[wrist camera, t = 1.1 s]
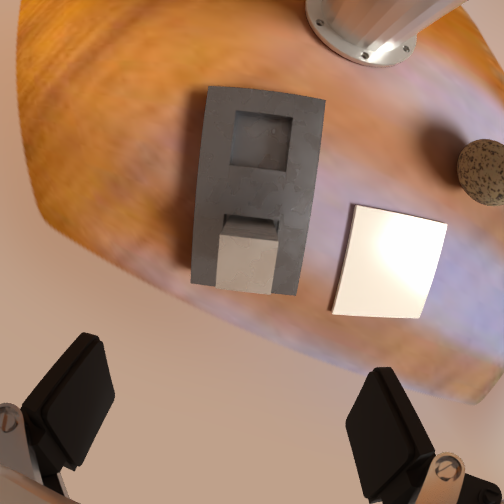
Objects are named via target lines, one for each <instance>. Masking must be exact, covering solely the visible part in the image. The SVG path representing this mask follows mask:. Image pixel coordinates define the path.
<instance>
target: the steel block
mask: <svg viewBox="0 0 504 504" xmlns="http://www.w3.org/2000/svg"><path fill="white" fill-rule="evenodd" d="M278 244H279V241H278V237H277V233H276V229H275V225H274V221H273V220H272V219H264V218H256V217H248V216H239V215H230V216H229V218H228V220H227V222H226V224H225V226H224V228H223V230H222V231H221V233H220V238H219V250H218V262H217V275H216V288H218V289H226V290H234V291H242V292H251V293H259V294H268V295H271V289H272V282H273V276H274V270H275V263H276V257H277V250H278Z"/></svg>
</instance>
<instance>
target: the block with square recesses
mask: <svg viewBox="0 0 504 504" xmlns="http://www.w3.org/2000/svg"><path fill="white" fill-rule="evenodd" d="M325 101H326V100H322V99H317V98H312V97H307V96H301V95H295V94H288V93H282V92H274V91H266V90H257V89H247V88H235V87H220V86H208V93H207V100H206V107H205V115H204V122H203V130H202V139H201V147H200V157H199V166H198V176H197V187H196V199H195V212H194V226H193V242H192V261H191V283H193V284H200V285H208V286H216V275H217V262H218V250H219V238H220V233H221V231H222V230H223V228H224V226H225V224H226V222H227V220H228V218H229V216H230V215H239V216H248V217H256V218H264V219H272V220H273V221H274V225H275V229H276V233H277V237H278V241H279V244H278V250H277V257H276V263H275V270H274V276H273V282H272V289H271V293H275V294H285V295H295V296H296V293H297V288H298V283H299V278H300V272H301V267H302V262H303V256H304V251H305V245H306V239H307V233H308V227H309V221H310V215H311V209H312V202H313V196H314V189H315V182H316V175H317V168H318V161H319V153H320V145H321V137H322V129H323V120H324V111H325Z"/></svg>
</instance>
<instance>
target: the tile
mask: <svg viewBox="0 0 504 504" xmlns="http://www.w3.org/2000/svg"><path fill="white" fill-rule="evenodd" d="M446 228H447V224H445V223H441V222H437V221H433V220H428V219H424V218H420V217H415V216H411V215H406V214H401V213H396V212H392V211H387V210H382V209H377V208H371V207H366V206H361V205H355V208H354V213H353V219H352V224H351V229H350V234H349V239H348V244H347V249H346V253H345V258H344V262H343V267H342V271H341V275H340V279H339V284H338V288H337V292H336V296H335V299H334V303H333V307H332V311H331V312H332V314H337V315H353V316H371V317H394V318H419V317H420V314H421V312H422V309H423V306H424V304H425V301H426V298H427V295H428V292H429V289H430V286H431V283H432V280H433V277H434V273H435V270H436V267H437V263H438V260H439V256H440V252H441V249H442V245H443V241H444V237H445V232H446Z"/></svg>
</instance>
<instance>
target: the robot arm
mask: <svg viewBox="0 0 504 504" xmlns="http://www.w3.org/2000/svg"><path fill="white" fill-rule="evenodd" d="M466 1H468V0H306V2H305V12H306V17H307V19H308V22H309V24H310V26H311V28H312V29H313V31H314V32H315V34H316V35H317V36H318V37H319V38H320V39H321V40H322V42H323V43H325V44H326V45H327V46H328V47H329V48H331V49H332V50H333V51H335V52H336V53H338V54H339V55H341V56H342V57H344V58H347V59H349V60H351V61H353V62H356V63H359V64H362V65H365V66H371V67H390V66H395V65H397V64H399V63H401V62H403V61H404V60H406V59H407V58H408V57H409V56H410V55H411V54H412V53H413V51H414V49H415V47H416V41H417V33H418V32H420V31H421V30H423V29H424V28H426V27H427V26H429V25H430V24H432V23H433V22H435V21H436V20H438V19H439V18H441V17H442V16H444V15H445V14H447V13H449V12H450V11H452V10H453V9H455V8H456V7H458V6H460V5H461V4H463V3H465V2H466ZM319 25H320V26H319ZM362 57H364V58H362ZM114 398H115V392H114V388H113V385H112V380H111V377H110V373H109V368H108V364H107V359H106V355H105V350H104V345H103V342H102V341H100V340H99V337H98V336H96V335H92V334H89V333H85V332H83V333H81V334H80V335H79V336H78V338H77V339H76V340H75V341H74V342H73V343H72V344H71V345H70V347H69V348H68V349H67V350H66V351H65V352H64V354H63V355H62V356H61V357H60V358H59V359H58V361H57V362H56V363H55V364H54V365H53V366H52V368H51V369H50V370H49V371H48V372H47V374H46V375H45V376H44V377H43V379H42V380H41V381H40V382H39V383H38V385H37V386H36V387H35V388H34V390H33V391H32V392H31V394H30V395H29V396H28V397H27V399H26V400H25V401H24V403H23V404H22V407H21V409H19V408H18V407H17V406H16V405H14V404H11V403H2V404H0V504H79V503H77V502H75V501H73V500H71V499H70V498H69V495H68V493H67V490H66V487H65V485H64V482H63V479H62V476H61V473H60V471H61V469H62V467H63V466H64V467H66V468H68V469H71V470H73V471H75V469H76V467H77V466H81V465H82V463H83V461H84V459H85V457H86V455H87V453H88V451H89V449H90V447H91V445H92V443H93V441H94V438H95V437H96V434H97V433H98V431H99V429H100V427H101V425H102V422H103V421H104V419H105V417H106V415H107V413H108V411H109V409H110V407H111V405H112V403H113V401H114ZM346 430H347V434H348V437H349V441H350V445H351V448H352V452H353V456H354V459H355V463H356V467H357V471H358V475H359V478H360V483H361V487H362V491H363V495H364V497H365V498H368V500H369V504H372V503H376V502H381V501H382V502H383V504H504V499H503V500H502V494H501V491H500V489H499V487H498V486H497V485H495V484H493V483H491V482H488V481H485V480H482V479H480V478H477V477H474V476H471V475H469V474H466V473H465V465H464V462H463V461H462V459H461V458H460V457H459V456H457V455H456V454H454V453H450V452H443V453H440V454H438V455H437V456H436V455H435V449H434V447H433V445H432V443H431V441H430V439H429V437H428V435H427V433H426V431H425V429H424V427H423V425H422V423H421V421H420V419H419V417H418V415H417V413H416V412H415V410H414V408H413V406H412V404H411V402H410V400H409V398H408V397H407V395H406V393H405V391H404V389H403V387H402V385H401V384H400V382H399V380H398V378H397V376H396V375H395V373H394V371H393V369H392V368H391V367H377V368H374V370H373V371H372V372H369V374H368V376H367V378H366V380H365V382H364V385H363V387H362V389H361V391H360V393H359V395H358V397H357V399H356V401H355V403H354V405H353V407H352V409H351V411H350V413H349V415H348V417H347V419H346Z"/></svg>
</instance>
